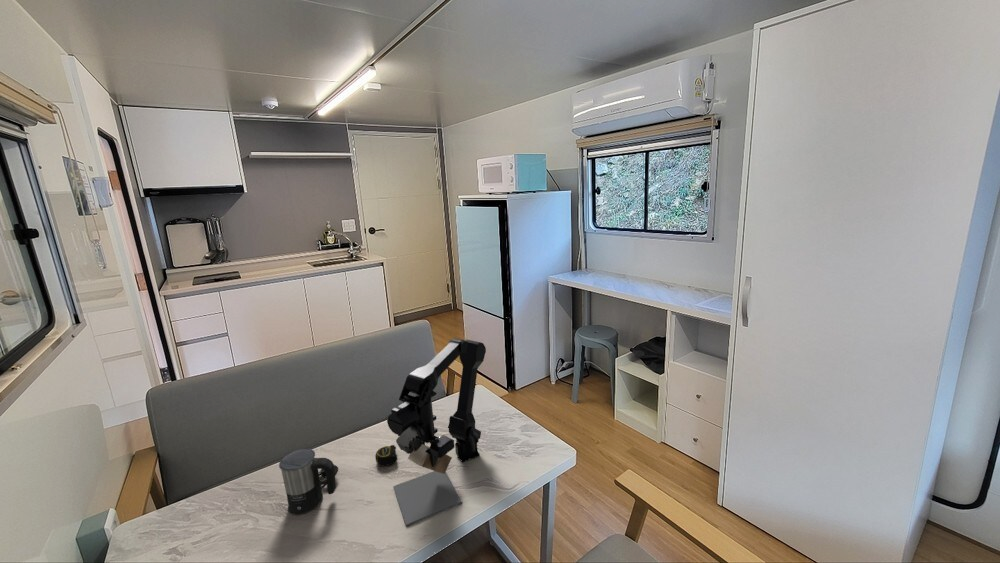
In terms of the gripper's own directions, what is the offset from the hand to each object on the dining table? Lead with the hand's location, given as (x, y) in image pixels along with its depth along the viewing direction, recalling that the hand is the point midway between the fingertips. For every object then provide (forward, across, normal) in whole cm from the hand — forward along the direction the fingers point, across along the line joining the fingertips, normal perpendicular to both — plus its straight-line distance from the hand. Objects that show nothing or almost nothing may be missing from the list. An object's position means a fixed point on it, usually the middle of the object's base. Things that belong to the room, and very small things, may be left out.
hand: (427, 462), depth 112 cm
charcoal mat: (+9, +1, -2) cm, 10 cm away
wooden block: (+4, 0, +6) cm, 7 cm away
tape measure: (+10, -22, +1) cm, 24 cm away
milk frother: (+10, -28, -21) cm, 37 cm away
